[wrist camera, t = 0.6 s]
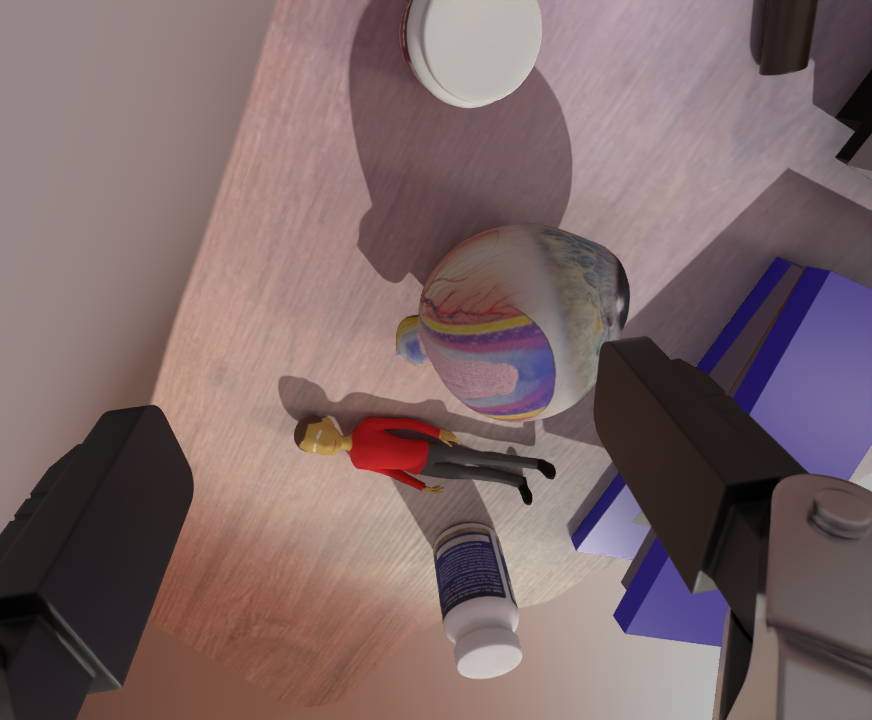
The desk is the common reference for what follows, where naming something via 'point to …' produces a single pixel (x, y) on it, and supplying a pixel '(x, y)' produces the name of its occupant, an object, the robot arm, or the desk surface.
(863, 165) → the game console
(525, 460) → the person figure
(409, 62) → the pill bottle
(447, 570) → the pill bottle
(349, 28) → the desk surface
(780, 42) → the scrub brush
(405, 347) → the anatomical model
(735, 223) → the desk surface
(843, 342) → the stapler
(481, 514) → the desk surface
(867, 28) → the desk surface
